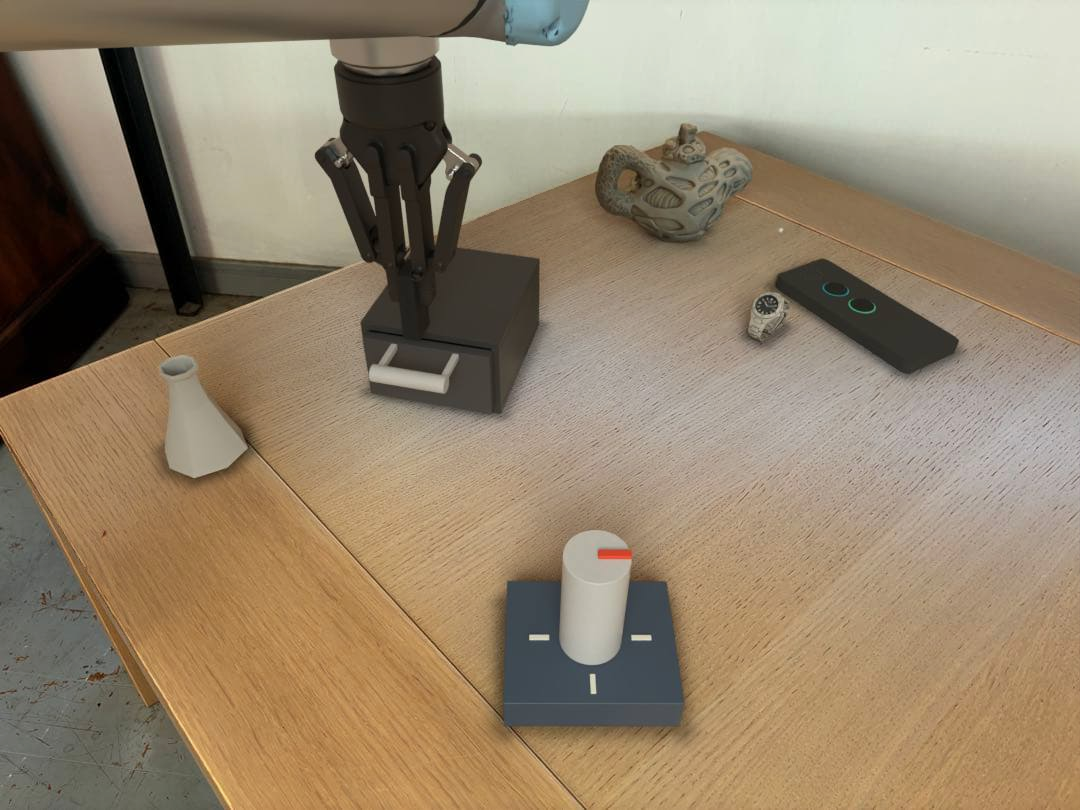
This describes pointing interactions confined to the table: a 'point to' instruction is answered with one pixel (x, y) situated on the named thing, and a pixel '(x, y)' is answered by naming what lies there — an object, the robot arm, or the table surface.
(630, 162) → the teapot
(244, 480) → the table surface
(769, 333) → the wristwatch
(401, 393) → the open drawer with handle
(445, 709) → the table surface
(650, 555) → the table surface
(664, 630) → the timer panel
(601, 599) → the timer knob
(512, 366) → the drawer cabinet
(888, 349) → the smart home device
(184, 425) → the flask
